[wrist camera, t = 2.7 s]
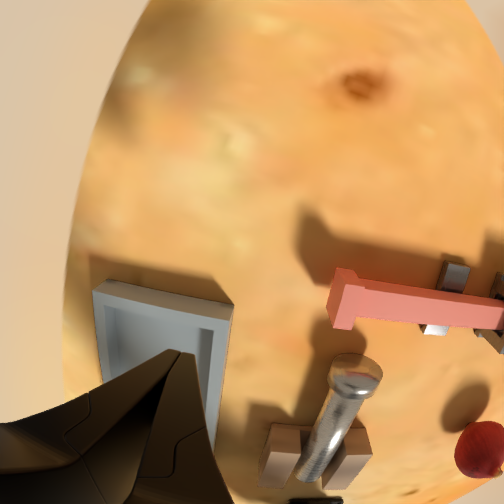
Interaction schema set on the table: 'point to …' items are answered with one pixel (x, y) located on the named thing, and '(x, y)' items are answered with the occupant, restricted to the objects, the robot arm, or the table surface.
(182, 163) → the table surface
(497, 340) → the keeper guide
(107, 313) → the tray
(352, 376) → the pin
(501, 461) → the onion
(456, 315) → the keeper bar
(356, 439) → the channel block
